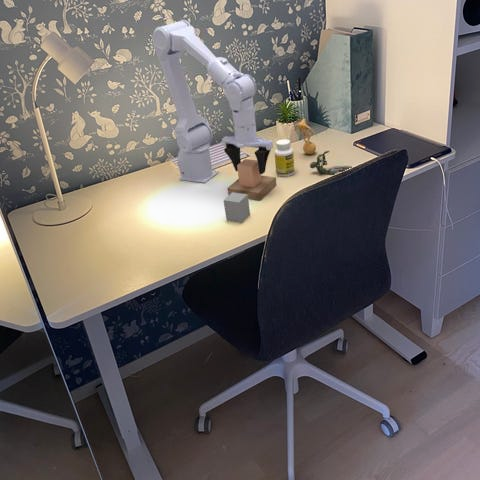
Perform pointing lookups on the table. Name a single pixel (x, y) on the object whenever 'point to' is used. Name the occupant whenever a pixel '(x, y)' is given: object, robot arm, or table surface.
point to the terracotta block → (248, 173)
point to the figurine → (308, 146)
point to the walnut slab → (254, 188)
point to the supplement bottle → (284, 158)
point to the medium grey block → (237, 207)
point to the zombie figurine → (334, 169)
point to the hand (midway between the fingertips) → (250, 171)
